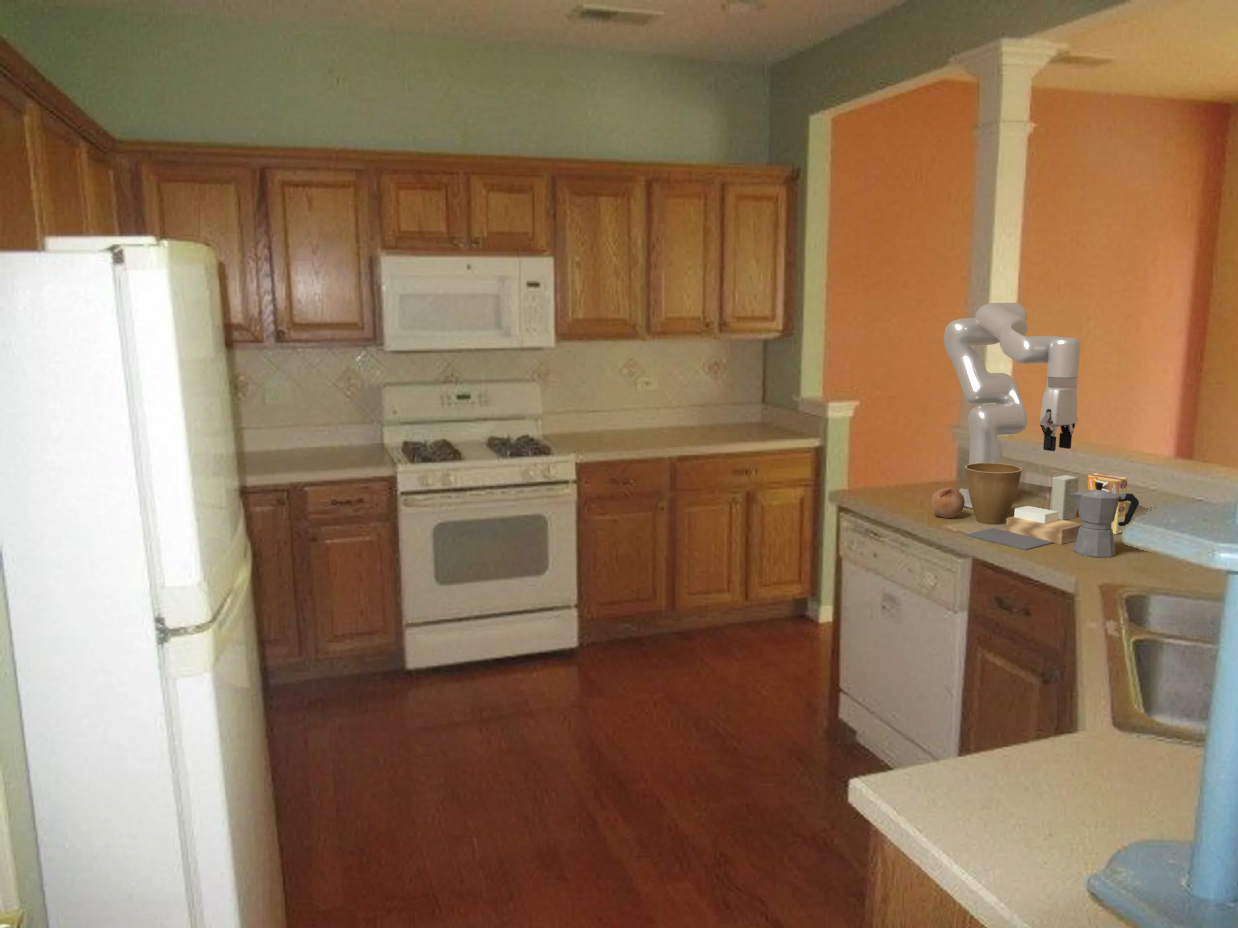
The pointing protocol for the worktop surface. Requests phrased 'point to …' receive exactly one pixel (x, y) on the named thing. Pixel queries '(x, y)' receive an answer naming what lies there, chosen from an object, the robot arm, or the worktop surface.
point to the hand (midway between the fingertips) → (1057, 448)
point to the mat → (1009, 539)
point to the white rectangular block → (1036, 514)
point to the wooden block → (1045, 529)
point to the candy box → (1113, 486)
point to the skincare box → (1064, 496)
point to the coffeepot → (1099, 520)
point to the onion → (947, 502)
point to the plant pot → (992, 490)
